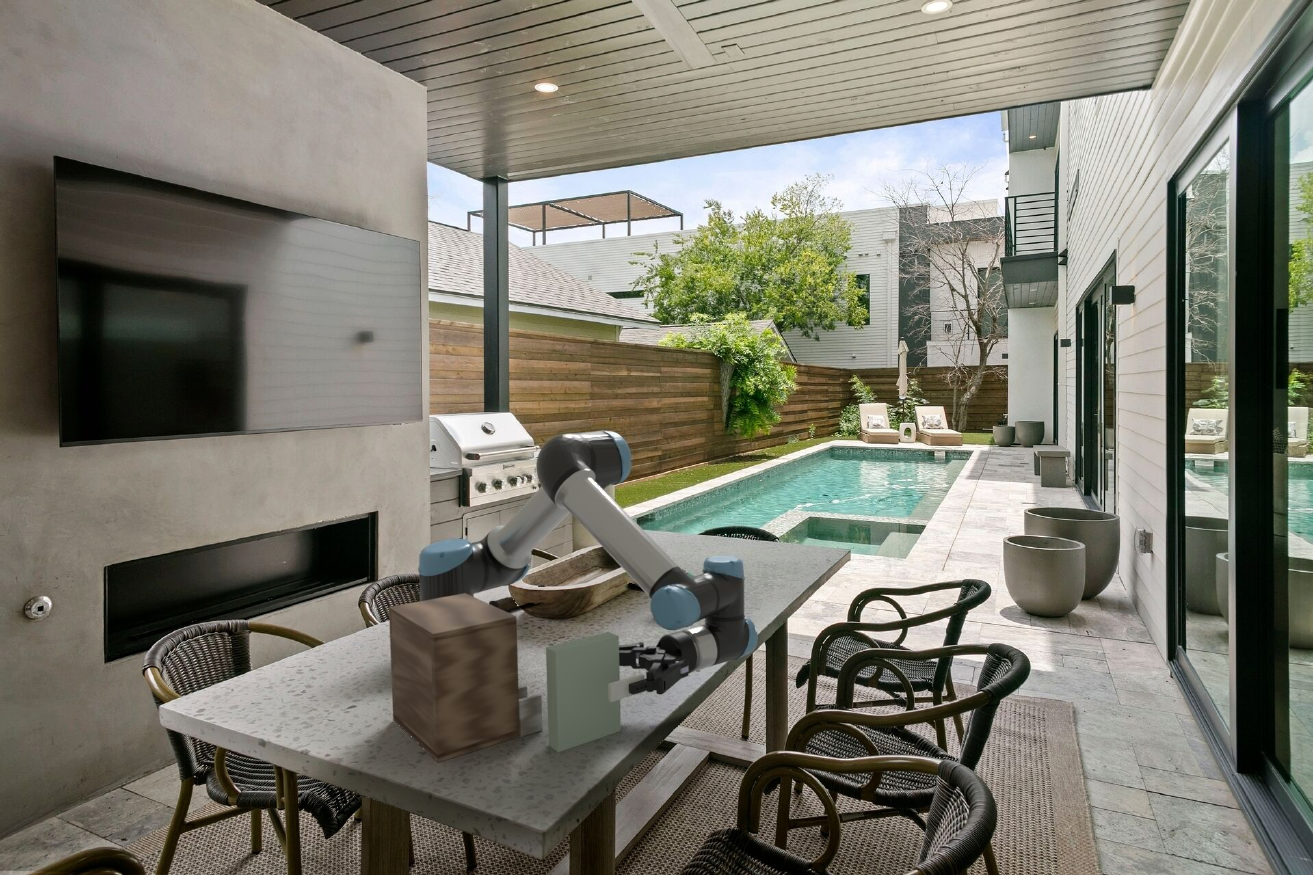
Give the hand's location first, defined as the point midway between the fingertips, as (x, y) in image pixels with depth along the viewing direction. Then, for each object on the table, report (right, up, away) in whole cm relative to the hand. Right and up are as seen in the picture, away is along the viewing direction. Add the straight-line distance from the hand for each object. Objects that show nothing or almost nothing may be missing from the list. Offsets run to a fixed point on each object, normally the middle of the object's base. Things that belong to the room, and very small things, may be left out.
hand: (585, 680), depth 124 cm
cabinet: (-21, -10, +6) cm, 24 cm away
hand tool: (-25, -6, +80) cm, 84 cm away
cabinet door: (0, -10, 0) cm, 10 cm away
